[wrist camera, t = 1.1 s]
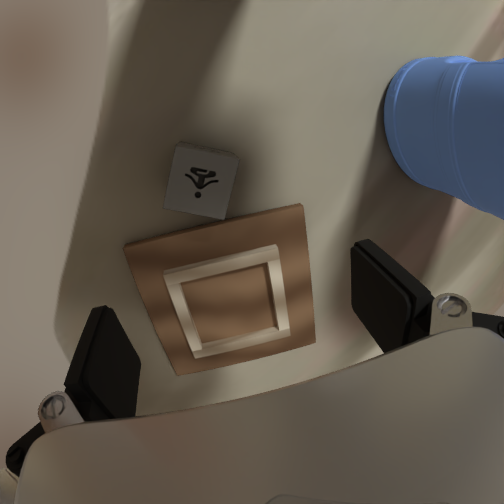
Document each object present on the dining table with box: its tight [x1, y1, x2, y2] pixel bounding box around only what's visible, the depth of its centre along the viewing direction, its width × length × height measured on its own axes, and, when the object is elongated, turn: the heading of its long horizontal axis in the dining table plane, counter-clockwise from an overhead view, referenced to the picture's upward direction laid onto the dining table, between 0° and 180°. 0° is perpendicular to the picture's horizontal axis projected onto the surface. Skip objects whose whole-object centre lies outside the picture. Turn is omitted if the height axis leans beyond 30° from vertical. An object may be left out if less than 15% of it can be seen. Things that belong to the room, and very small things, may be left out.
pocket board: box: [123, 203, 316, 376], centre depth 33 cm, size 18×18×2 cm
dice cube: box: [163, 142, 240, 220], centre depth 25 cm, size 5×5×5 cm
